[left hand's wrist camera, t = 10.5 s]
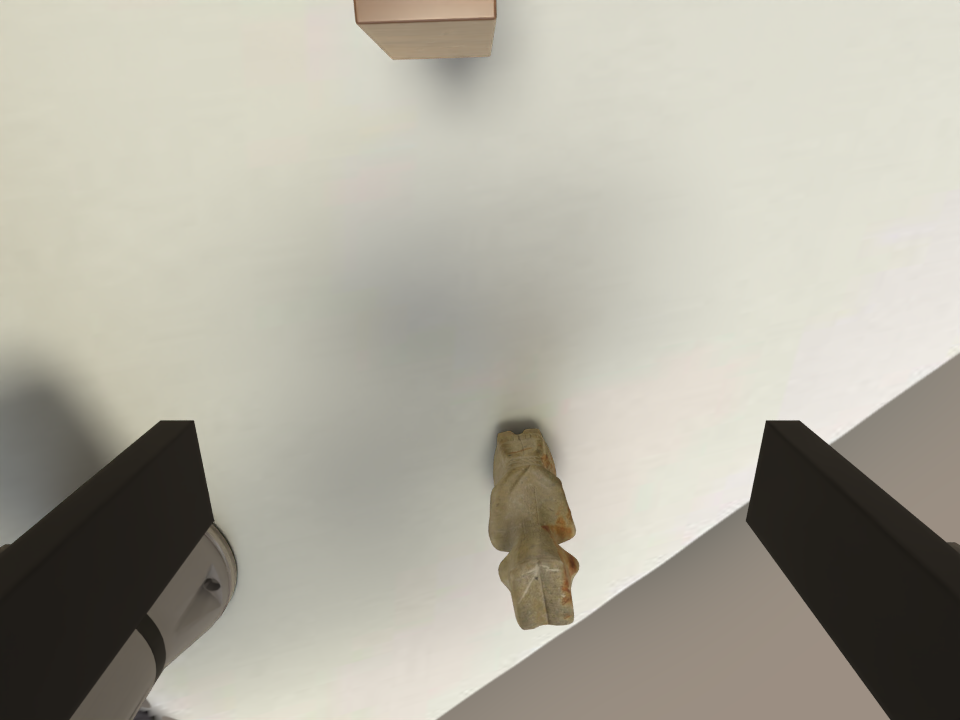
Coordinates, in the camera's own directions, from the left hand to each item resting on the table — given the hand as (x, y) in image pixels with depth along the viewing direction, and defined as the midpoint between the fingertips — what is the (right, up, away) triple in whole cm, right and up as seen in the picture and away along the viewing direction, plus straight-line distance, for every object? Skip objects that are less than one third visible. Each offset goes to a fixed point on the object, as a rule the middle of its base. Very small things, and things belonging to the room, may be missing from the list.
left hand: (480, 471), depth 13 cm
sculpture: (+4, -5, +33) cm, 33 cm away
